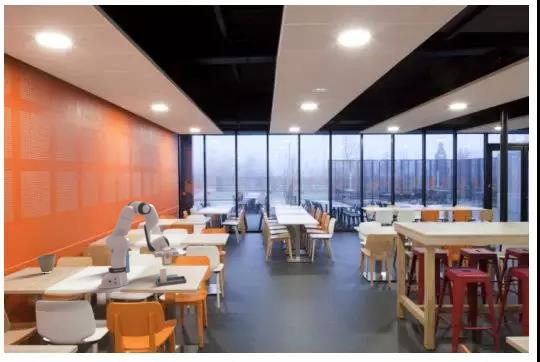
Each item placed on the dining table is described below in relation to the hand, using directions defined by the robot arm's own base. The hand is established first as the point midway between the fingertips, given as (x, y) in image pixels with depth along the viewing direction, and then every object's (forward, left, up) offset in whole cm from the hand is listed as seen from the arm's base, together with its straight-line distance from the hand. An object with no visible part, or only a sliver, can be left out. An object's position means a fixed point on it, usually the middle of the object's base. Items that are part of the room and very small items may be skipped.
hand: (167, 255), depth 322 cm
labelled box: (0, +1, -7) cm, 7 cm away
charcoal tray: (+1, -16, -19) cm, 25 cm away
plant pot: (-102, +74, -19) cm, 127 cm away
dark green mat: (0, +1, -19) cm, 19 cm away
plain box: (-5, -16, -18) cm, 25 cm away
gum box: (-38, +46, -19) cm, 63 cm away
